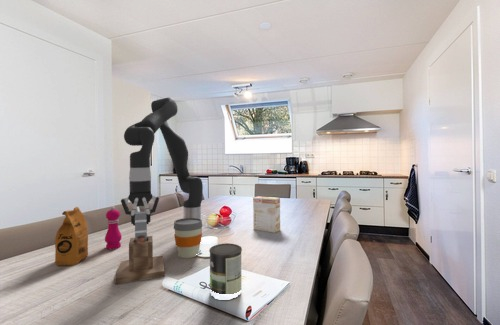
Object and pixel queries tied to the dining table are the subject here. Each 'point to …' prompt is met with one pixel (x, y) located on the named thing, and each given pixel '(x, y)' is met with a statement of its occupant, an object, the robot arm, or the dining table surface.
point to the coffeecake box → (266, 213)
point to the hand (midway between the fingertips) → (140, 224)
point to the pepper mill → (113, 229)
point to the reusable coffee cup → (188, 236)
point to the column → (141, 225)
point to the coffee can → (225, 268)
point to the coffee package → (71, 239)
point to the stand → (140, 262)
